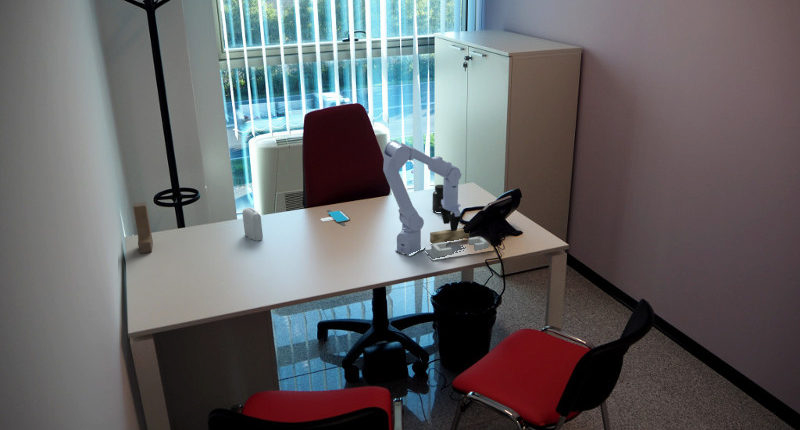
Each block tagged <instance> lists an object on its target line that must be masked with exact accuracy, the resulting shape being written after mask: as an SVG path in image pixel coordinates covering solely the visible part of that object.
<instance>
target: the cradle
mask: <svg viewBox="0 0 800 430" xmlns="http://www.w3.org/2000/svg"><path fill="white" fill-rule="evenodd" d="M467 243H468V244H469V245H474V250H475V251H477V250H482V249H486V248H488V247H489V244H490V243H489V241H487V240H486V239H485V238H484V237H482V236H481V235H480V236H474V237H469V238H468V240H467ZM462 244H463V243H462ZM462 244H455V245H449V246H447V244H446V243H445V242H440V243H434V244H430V246H431V249H424V252H425V251H426V252H427V253H428V255H429V256H430V257H431V258H432V259H435V258H440V257H445V256H447V255H452V254H454V252H455V251H456V252H455V253H458V252H457V251H458V250H462V249H465V248H466V247H465V248H464V247H463V245H462ZM460 245H462V246H460ZM461 247H463V248H461ZM463 251H464V250H463ZM459 252H461V251H459ZM428 255H427V256H428Z"/></svg>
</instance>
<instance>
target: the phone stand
mask: <svg viewBox="0 0 800 430" xmlns="http://www.w3.org/2000/svg"><path fill="white" fill-rule="evenodd" d="M326 211H327V213H328V215H330V216H328V217H321V218H320V221H321V222H322V223H325V222H331V221H336V222H337V223H339V224H340V225H341V226H342V227H344V226H346V223H345V222H347V221H351V218H350V216H348V215H347V214H346V213H345V212H344V211H343V210H342V209H340V210H335V211H332V210H330V209H328V210H326Z"/></svg>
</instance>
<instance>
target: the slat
mask: <svg viewBox="0 0 800 430" xmlns="http://www.w3.org/2000/svg"><path fill="white" fill-rule="evenodd" d="M464 227H465V226H464ZM464 227H457V230H456V231H451V228H450V229H445V230H439V231H432V232H430V233H429V243H430V242H431V243H432V244H434V243H440V242H447V241H454V240H459V239H463V238H467V237H469V238H470V232H469V233H465V232H464V229H463V228H464Z"/></svg>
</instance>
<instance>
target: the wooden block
mask: <svg viewBox="0 0 800 430" xmlns="http://www.w3.org/2000/svg"><path fill="white" fill-rule="evenodd" d="M132 207H133V208H132V209H133V214H134V219H135V226H136V232H137V240H138V241H137V247H138V252H139V254H148V253H152V252H153V245H154V241H153V240H154V239H153V236H152V235H153V234H152V229H151V228H152V227H151V223H150V222H151V221H150V218H149V210H148V206H147V202H146V201H145V202H144V201H143V202H136V203H135V202H134V203H133V206H132Z"/></svg>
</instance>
